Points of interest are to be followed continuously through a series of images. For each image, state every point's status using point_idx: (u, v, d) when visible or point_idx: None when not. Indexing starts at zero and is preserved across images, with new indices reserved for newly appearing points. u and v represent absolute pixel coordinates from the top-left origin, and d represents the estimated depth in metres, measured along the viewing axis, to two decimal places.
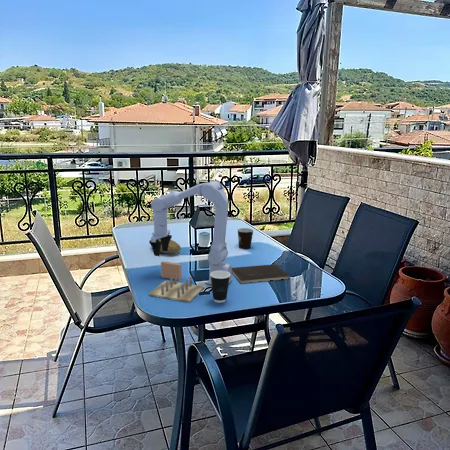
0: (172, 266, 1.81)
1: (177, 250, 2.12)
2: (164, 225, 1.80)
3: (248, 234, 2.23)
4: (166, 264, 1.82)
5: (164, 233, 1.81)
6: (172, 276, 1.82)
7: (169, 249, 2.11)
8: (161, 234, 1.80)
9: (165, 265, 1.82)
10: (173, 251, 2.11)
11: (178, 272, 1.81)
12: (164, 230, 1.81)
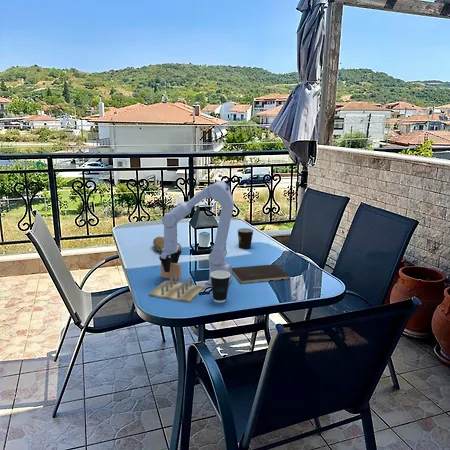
0: (172, 266, 1.81)
1: None
2: (174, 241, 1.77)
3: (248, 234, 2.23)
4: None
5: (174, 249, 1.78)
6: (172, 276, 1.82)
7: None
8: (171, 250, 1.78)
9: None
10: None
11: (178, 272, 1.81)
12: (174, 246, 1.78)
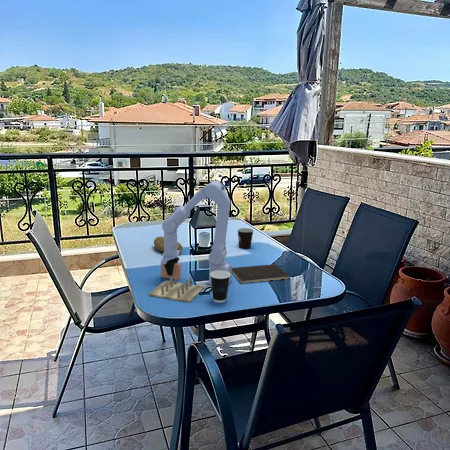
0: None
1: None
2: (174, 246, 1.78)
3: (248, 234, 2.23)
4: None
5: (174, 254, 1.79)
6: (172, 276, 1.82)
7: None
8: (171, 255, 1.78)
9: None
10: None
11: (178, 272, 1.81)
12: (174, 251, 1.79)
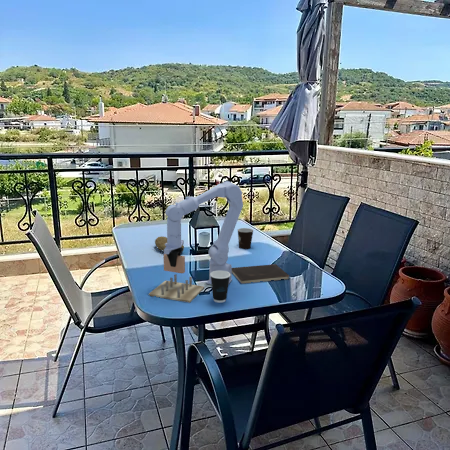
0: None
1: None
2: (178, 235, 1.67)
3: (248, 234, 2.23)
4: None
5: (178, 244, 1.68)
6: (175, 269, 1.71)
7: None
8: (175, 245, 1.67)
9: None
10: None
11: (182, 265, 1.70)
12: (178, 241, 1.67)
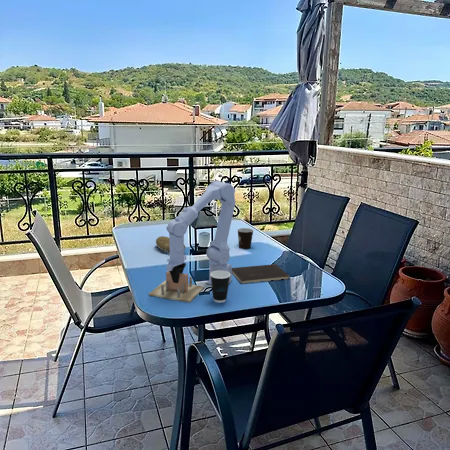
0: None
1: None
2: (181, 251, 1.63)
3: (248, 234, 2.23)
4: None
5: (181, 260, 1.63)
6: None
7: None
8: (177, 261, 1.63)
9: None
10: None
11: (185, 283, 1.66)
12: (181, 257, 1.63)
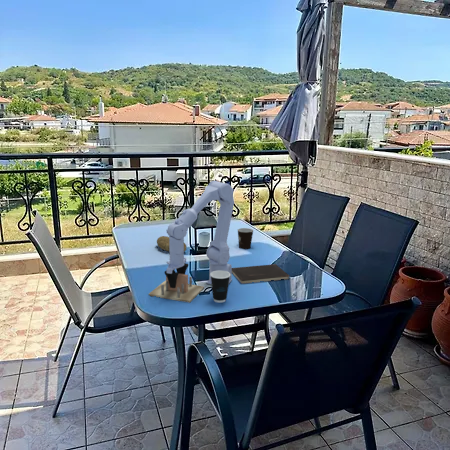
0: (178, 277, 1.66)
1: (184, 249, 2.15)
2: (181, 254, 1.63)
3: (248, 234, 2.23)
4: None
5: (181, 263, 1.64)
6: None
7: None
8: (177, 264, 1.63)
9: None
10: None
11: (185, 284, 1.66)
12: (181, 259, 1.63)
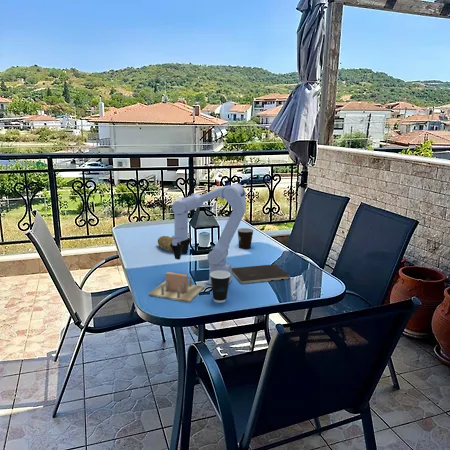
0: (178, 277, 1.66)
1: None
2: (185, 228, 1.78)
3: (248, 234, 2.23)
4: (172, 275, 1.67)
5: (185, 236, 1.79)
6: None
7: None
8: (182, 237, 1.78)
9: (171, 276, 1.67)
10: None
11: (185, 284, 1.66)
12: (185, 233, 1.79)
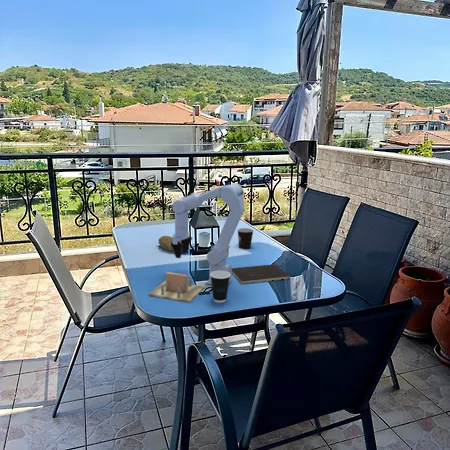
0: (178, 277, 1.66)
1: None
2: (185, 227, 1.80)
3: (248, 234, 2.23)
4: (172, 275, 1.67)
5: (185, 235, 1.81)
6: None
7: None
8: (182, 236, 1.80)
9: (171, 276, 1.67)
10: None
11: (185, 284, 1.66)
12: (185, 232, 1.80)
